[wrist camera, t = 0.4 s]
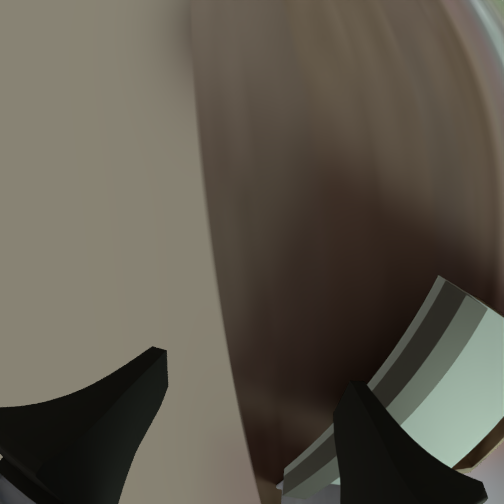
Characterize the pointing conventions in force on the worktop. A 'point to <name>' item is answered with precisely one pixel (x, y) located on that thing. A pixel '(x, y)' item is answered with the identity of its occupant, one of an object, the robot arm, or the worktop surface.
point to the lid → (428, 386)
